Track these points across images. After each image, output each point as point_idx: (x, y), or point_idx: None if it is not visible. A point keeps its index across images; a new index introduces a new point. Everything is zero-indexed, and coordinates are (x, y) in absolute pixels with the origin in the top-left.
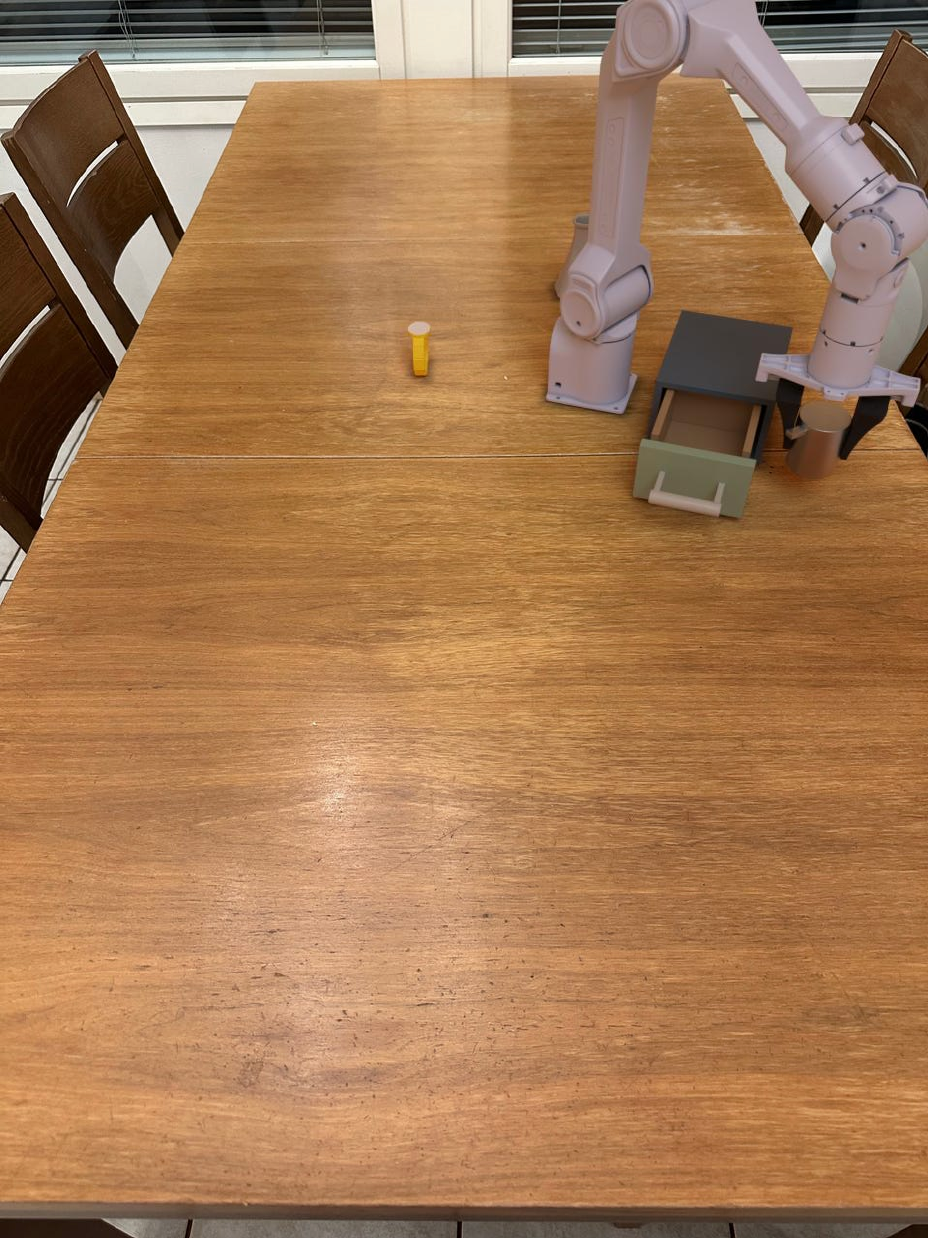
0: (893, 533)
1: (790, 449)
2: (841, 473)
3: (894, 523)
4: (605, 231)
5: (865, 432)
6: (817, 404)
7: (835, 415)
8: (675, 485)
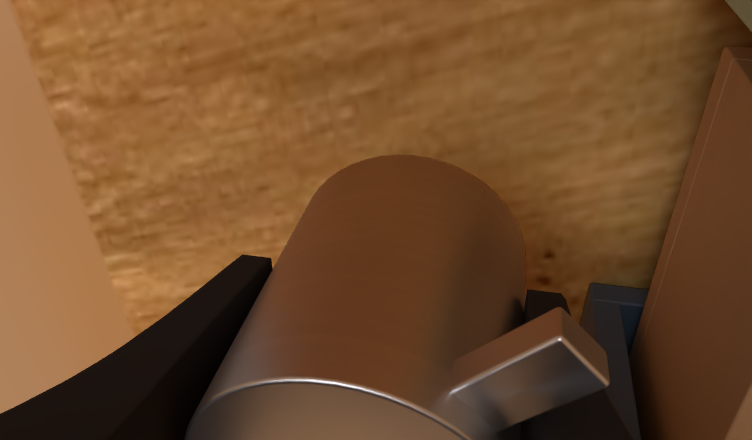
0: (96, 34)
1: (519, 292)
2: None
3: (109, 87)
4: None
5: (63, 385)
6: None
7: None
8: None
